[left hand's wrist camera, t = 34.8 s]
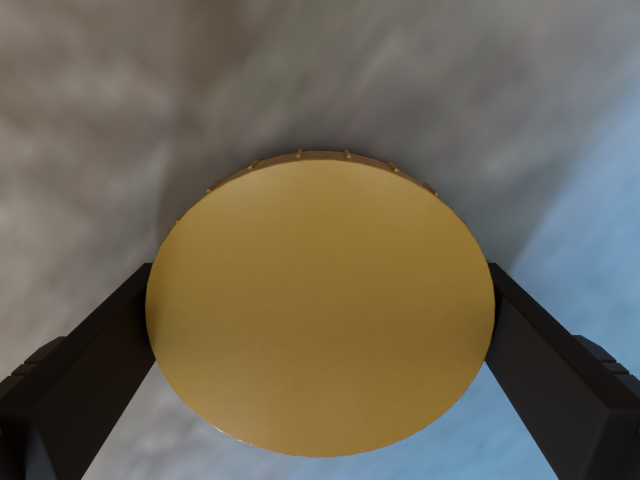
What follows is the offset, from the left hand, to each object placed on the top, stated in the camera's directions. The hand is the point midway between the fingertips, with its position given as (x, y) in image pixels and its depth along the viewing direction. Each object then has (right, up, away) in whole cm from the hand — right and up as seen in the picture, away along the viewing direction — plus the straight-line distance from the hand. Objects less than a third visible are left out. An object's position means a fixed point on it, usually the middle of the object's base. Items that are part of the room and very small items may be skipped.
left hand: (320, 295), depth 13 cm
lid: (0, -1, -2) cm, 2 cm away
